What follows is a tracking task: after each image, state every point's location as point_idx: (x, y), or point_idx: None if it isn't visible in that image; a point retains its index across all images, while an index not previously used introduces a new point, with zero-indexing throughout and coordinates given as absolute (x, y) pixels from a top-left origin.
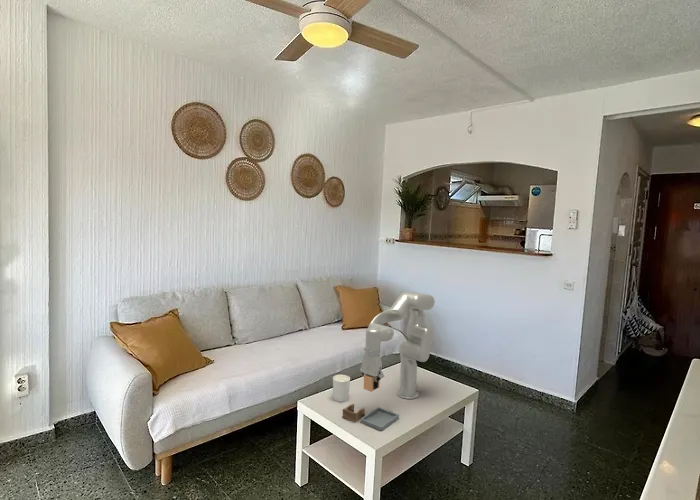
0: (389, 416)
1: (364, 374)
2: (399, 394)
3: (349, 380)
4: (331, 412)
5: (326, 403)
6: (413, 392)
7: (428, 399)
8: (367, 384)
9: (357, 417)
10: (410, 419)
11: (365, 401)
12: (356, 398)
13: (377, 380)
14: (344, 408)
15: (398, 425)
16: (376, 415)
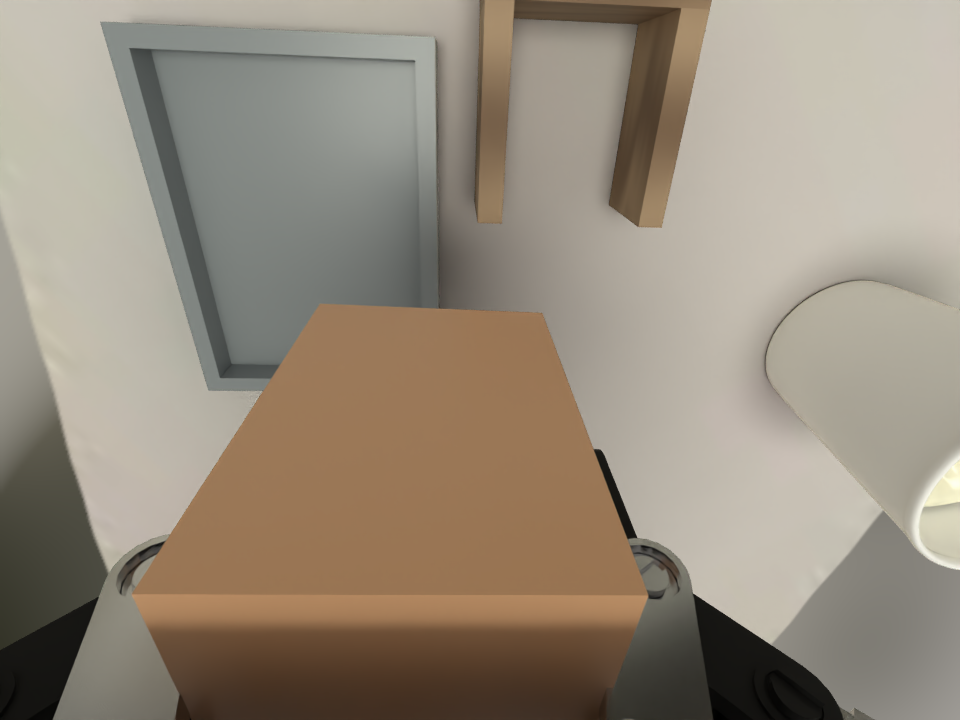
0: (287, 340)
1: (688, 662)
2: None
3: (905, 504)
4: (838, 23)
5: (953, 174)
6: None
7: None
8: (430, 376)
9: (480, 45)
10: (151, 413)
11: (611, 429)
12: (701, 425)
13: (104, 607)
14: (703, 17)
15: (130, 268)
16: (386, 281)
